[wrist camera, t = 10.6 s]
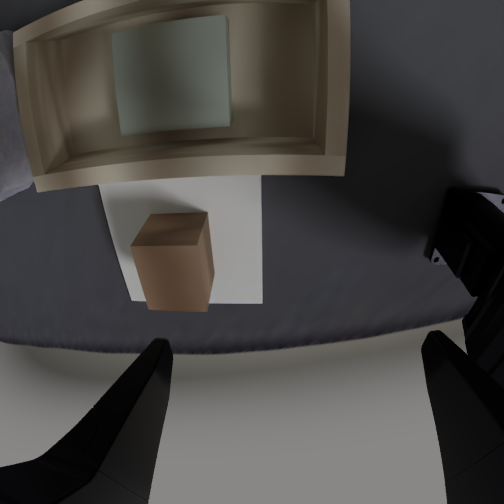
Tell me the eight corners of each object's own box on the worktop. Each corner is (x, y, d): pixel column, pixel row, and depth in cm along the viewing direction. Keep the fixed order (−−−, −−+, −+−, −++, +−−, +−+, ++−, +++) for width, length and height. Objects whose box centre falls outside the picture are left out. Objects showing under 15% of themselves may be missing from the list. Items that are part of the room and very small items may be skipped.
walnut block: (207, 212, 20) (196, 245, 17) (214, 273, 23) (207, 311, 20) (150, 214, 20) (130, 246, 17) (163, 273, 23) (148, 309, 20)
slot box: (327, -7, 12) (348, -27, 8) (326, 151, 18) (344, 176, 14) (56, 32, 13) (12, 33, 9) (73, 166, 18) (37, 192, 15)
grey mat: (260, 165, 19) (260, 167, 18) (262, 301, 25) (262, 303, 24) (98, 176, 19) (97, 177, 19) (132, 298, 25) (131, 300, 25)
